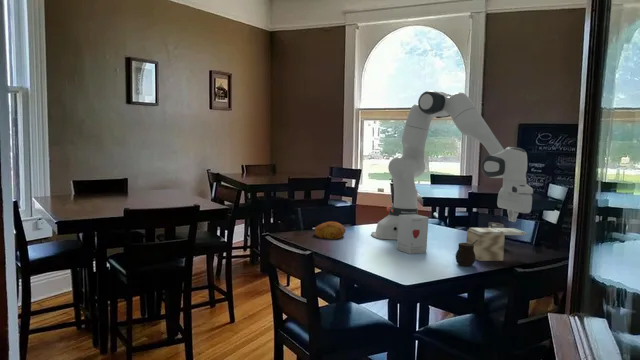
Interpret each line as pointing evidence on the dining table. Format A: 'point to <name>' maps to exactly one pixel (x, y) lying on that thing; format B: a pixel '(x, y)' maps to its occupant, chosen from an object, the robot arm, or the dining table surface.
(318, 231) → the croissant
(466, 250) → the mate gourd
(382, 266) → the dining table surface
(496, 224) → the food container
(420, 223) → the supplement box
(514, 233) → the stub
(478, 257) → the block
